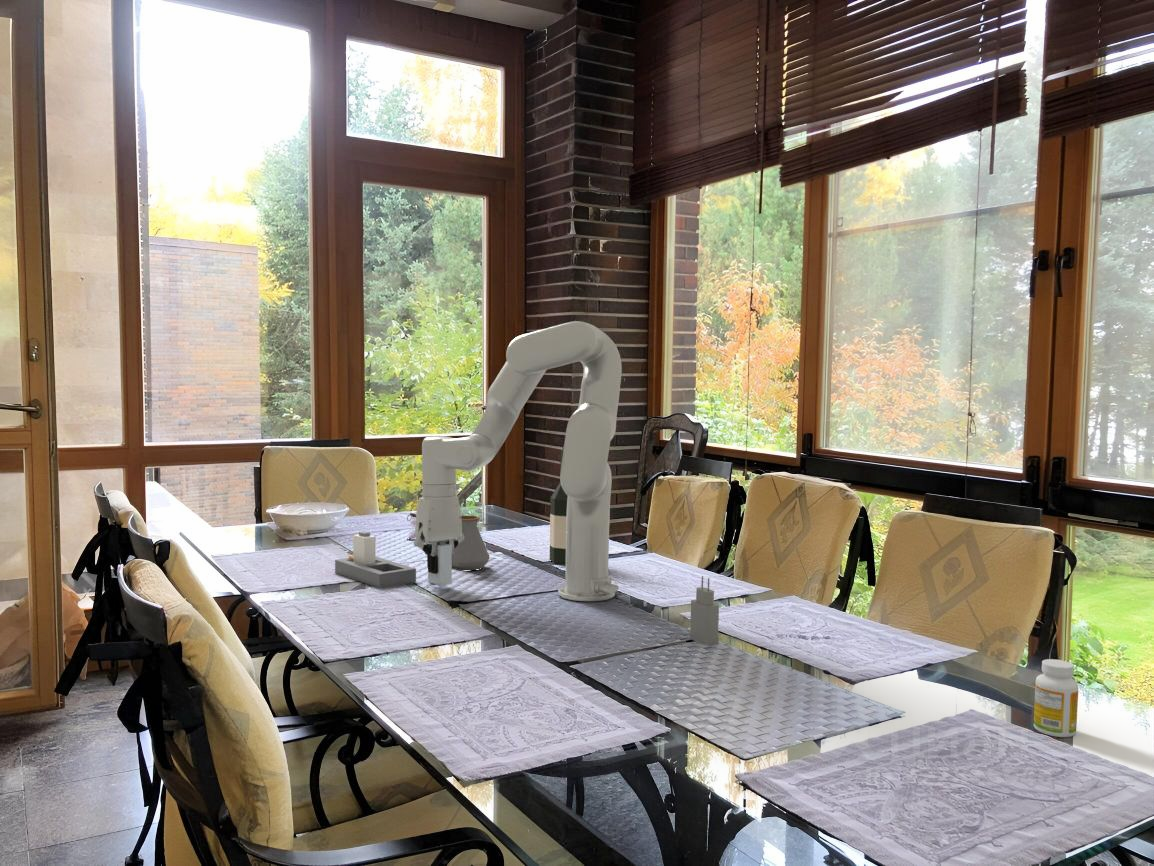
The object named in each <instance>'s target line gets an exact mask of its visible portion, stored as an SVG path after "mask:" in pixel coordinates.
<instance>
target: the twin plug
mask: <svg viewBox="0 0 1154 866" xmlns="http://www.w3.org/2000/svg"><path fill="white" fill-rule="evenodd" d="M352 538H353V541H352V542H353V544H352V545H353V547H352V552H353V553H352V555H353V562H354V563H357V564H361V565H366V564H373V563H375V556H376V551H377V550H376V545H377V544H376V543H377V542H376V540H377V539H376V538H377V537H376V536H374V535H371V532H368V531H365V530H364V531H363V530H362V531H358V533H357V534H353V537H352Z"/></svg>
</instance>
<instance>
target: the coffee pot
mask: <svg viewBox="0 0 1154 866" xmlns="http://www.w3.org/2000/svg"><path fill="white" fill-rule="evenodd" d="M410 516H411V517H410ZM409 517H410V518H409ZM412 518H416V513H412V512H410V513H409V514H408V515H407V516H406V521H407V522H411V521H412ZM479 520H481V518H480V516H477V515H461V521H462V533H463V535H464V537H465V538H464V540H463V541H462V542H460V543H459V544H458V545H457V547H456V548H455V549H454V553H453V554H452V569H454V570H455V569H456V570H459V571H462V570H476V569H480V568H481V567H482V568H483V567H485V566H486V565H487V564H488V562H489V560H490V554H489V552H488V550H487V547H486V545H485V542H484V539H483V537H482V535H481V532H480V530H479V527H478V522H479Z"/></svg>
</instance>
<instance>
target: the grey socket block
mask: <svg viewBox="0 0 1154 866" xmlns="http://www.w3.org/2000/svg"><path fill="white" fill-rule="evenodd" d="M334 568H335V569H334V573H335V574H338V575H340V576H344V577H347V578H350V579H353V580H355V581H357V582H358V581H359V582H361V583H364V584H367V585H370V586H372V587H376V588H378V589H381V588H387V587H394V586H399V585H400V586H401V585H406V584H410V583H416V582H417V568H415V567H412V566H408V565H405V564H401V563H398V562H396V561H392V560H389V559H385V558H382V557H378V556H376V555H375V563H373V564H366V565H361V564H357V563H354V562H353V554H350V555H348V557H345V558H339V559H335V560H334Z"/></svg>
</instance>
